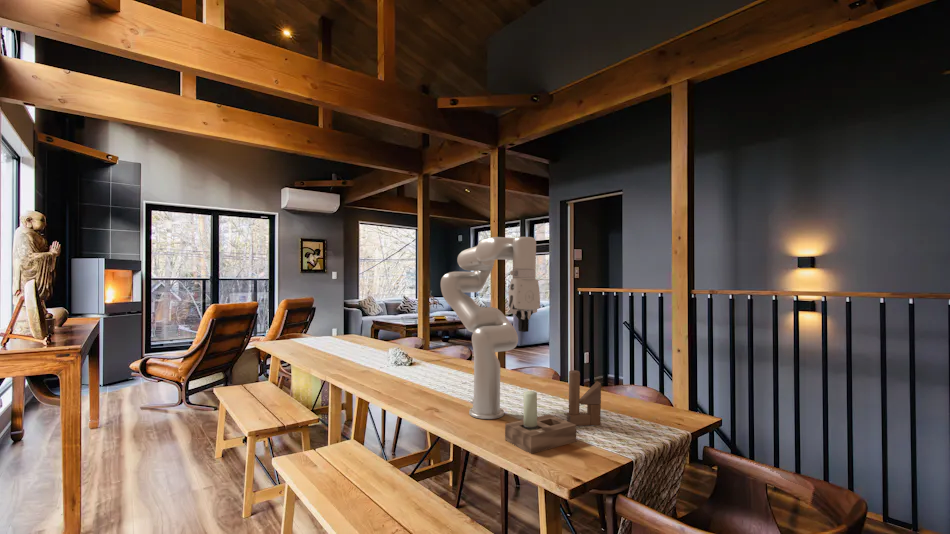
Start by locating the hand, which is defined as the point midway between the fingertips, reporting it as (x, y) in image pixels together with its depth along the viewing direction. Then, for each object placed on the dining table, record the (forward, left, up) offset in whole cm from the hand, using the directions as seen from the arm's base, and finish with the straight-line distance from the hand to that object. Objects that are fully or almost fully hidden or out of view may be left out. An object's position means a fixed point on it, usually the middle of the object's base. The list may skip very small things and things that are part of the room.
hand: (523, 331), depth 146 cm
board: (+10, -1, -32) cm, 34 cm away
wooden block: (+6, +22, -32) cm, 40 cm away
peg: (+10, -5, -31) cm, 33 cm away
